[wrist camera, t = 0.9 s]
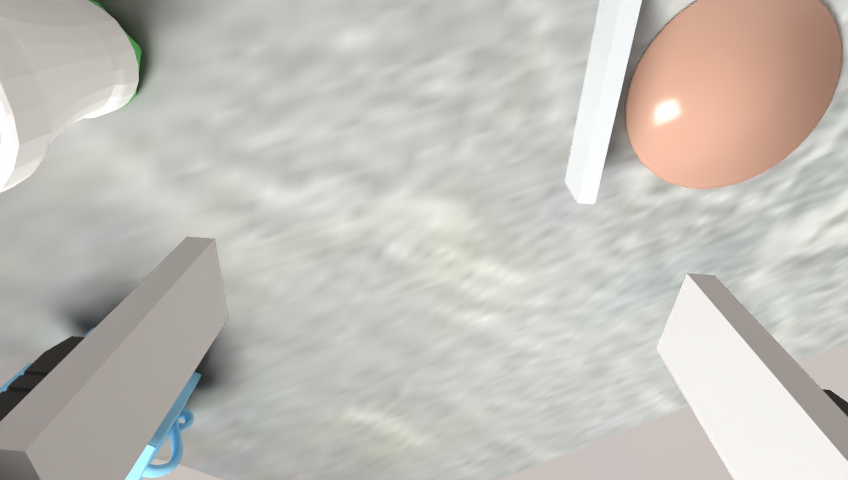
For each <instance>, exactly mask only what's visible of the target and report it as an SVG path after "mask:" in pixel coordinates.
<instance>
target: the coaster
mask: <svg viewBox="0 0 848 480" xmlns="http://www.w3.org/2000/svg"><path fill="white" fill-rule="evenodd" d="M841 61H842V50H841V41H840V35H839V31H838V28H837V26H836V23H835V20H834V19H833V17H832V15H831V14H830V12H829V10H828V9H827V8H826V7H825V6H824V4H823V3H822V2H821V1H820V0H697V1H696V2H694V3H692V4H691V5H689V6H688V7H687V8H685V9H684V10H683V11H681V12H680V13H679V14H677V15H676V16H675V17H674V18H673V19H672V20H671V21H670V22H669V23H667V24H666V25H665V26H664V28H663V29H662V30H661V31H660V32H659V33H658V34H657V35H656V37H655V38H654V39H653V40H652V42H651V43H650V45H649V46H648V47H647V49H646V50H645V52H644V54H643V55H642V57H641V59H640V61H639V62H638V64H637V67H636V69H635V71H634V74H633V76H632V79H631V82H630V85H629V89H628V93H627V98H626V106H625V121H626V130H627V134H628V138H629V141H630V143H631V146H632V148H633V150H634V152H635V153H636V155H637V157H638V158H639V159H640V161H641V162H642V163H643V164H644V165H645V166H646V167H647V168H648V169H649V170H650V171H652V172H653V173H654V174H655V175H657V176H658V177H660V178H662V179H663V180H665V181H667V182H670V183H672V184H675V185H678V186H683V187H687V188H696V189H711V188H718V187H725V186H729V185H733V184H737V183H740V182H742V181H745V180H748V179H750V178H752V177H755V176H757V175H759V174H761V173H763V172H765V171H766V170H768V169H770V168H771V167H773V166H775V165H776V164H777V163H779V162H780V161H782V160H783V159H784V158H786V157H787V156H788V155H789V154H790V153H792V152H793V151H794V150H795V149H796V148H797V147H798V146H799V145H800V144H801V143H802V142H803V141H804V140H805V139H806V138H807V137H808V136H809V134H810V133H811V132H812V131H813V129H814V128H815V127H816V126H817V124H818V122H819V121H820V119H821V118H822V116H823V115H824V113H825V111H826V109H827V108H828V106H829V104H830V102H831V100H832V97H833V94H834V92H835V89H836V87H837V83H838V79H839V75H840V69H841Z"/></svg>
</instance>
